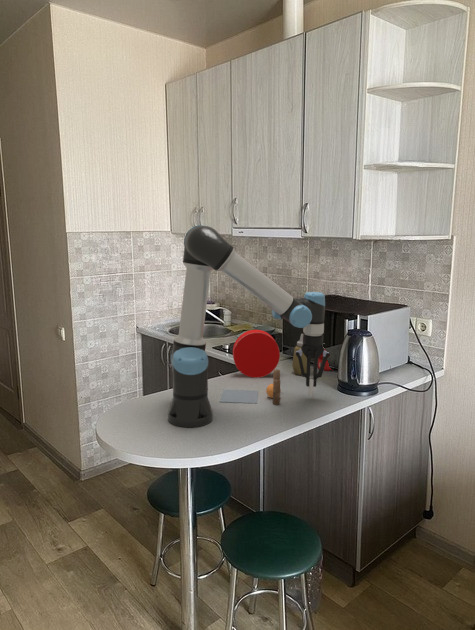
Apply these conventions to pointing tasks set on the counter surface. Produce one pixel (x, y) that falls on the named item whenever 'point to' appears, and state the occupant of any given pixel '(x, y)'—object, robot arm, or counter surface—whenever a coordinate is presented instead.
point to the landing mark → (239, 396)
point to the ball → (270, 390)
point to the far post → (276, 374)
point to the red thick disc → (256, 353)
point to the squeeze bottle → (295, 359)
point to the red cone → (325, 364)
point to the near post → (276, 392)
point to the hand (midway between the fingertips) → (310, 394)
